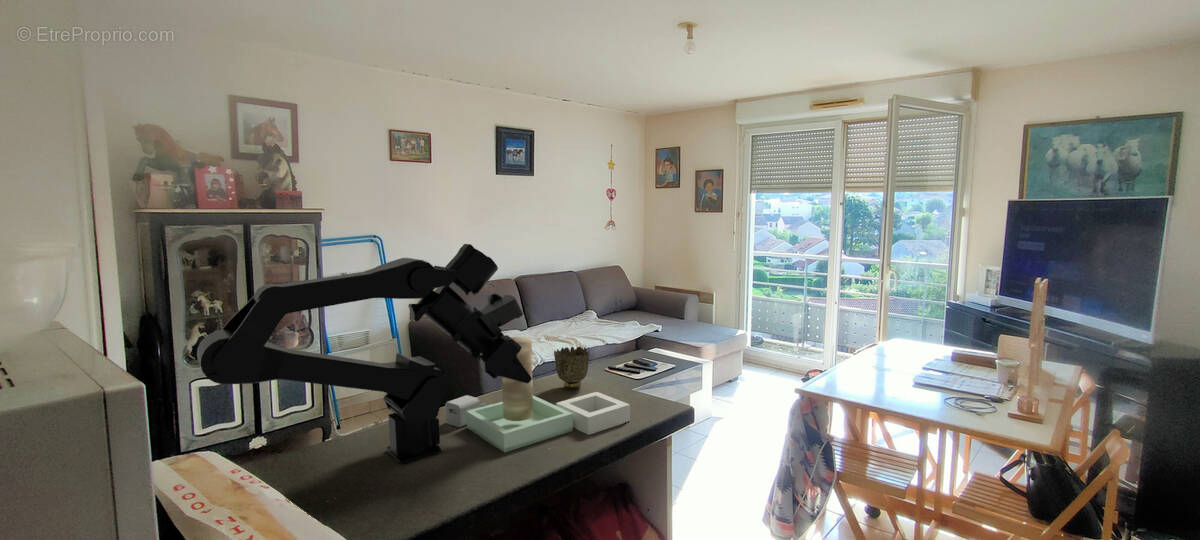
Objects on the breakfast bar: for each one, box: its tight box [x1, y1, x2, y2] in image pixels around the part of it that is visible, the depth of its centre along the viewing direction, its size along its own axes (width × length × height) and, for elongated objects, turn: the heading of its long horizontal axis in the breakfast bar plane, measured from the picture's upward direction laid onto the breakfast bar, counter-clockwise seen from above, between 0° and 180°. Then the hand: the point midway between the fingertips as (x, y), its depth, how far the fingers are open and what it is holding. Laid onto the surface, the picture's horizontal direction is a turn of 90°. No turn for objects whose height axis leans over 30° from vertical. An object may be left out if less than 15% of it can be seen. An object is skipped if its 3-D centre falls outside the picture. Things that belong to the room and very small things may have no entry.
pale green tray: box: [466, 395, 574, 453], centre depth 94 cm, size 13×13×3 cm
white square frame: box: [555, 391, 631, 436], centre depth 98 cm, size 9×9×3 cm
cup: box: [553, 346, 591, 391], centre depth 116 cm, size 8×7×8 cm
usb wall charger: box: [444, 394, 488, 428], centre depth 99 cm, size 4×7×4 cm, turn 143°
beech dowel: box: [501, 336, 534, 421], centre depth 94 cm, size 5×5×13 cm
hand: (525, 376), depth 94 cm, fingers closed on beech dowel, 5 cm apart
